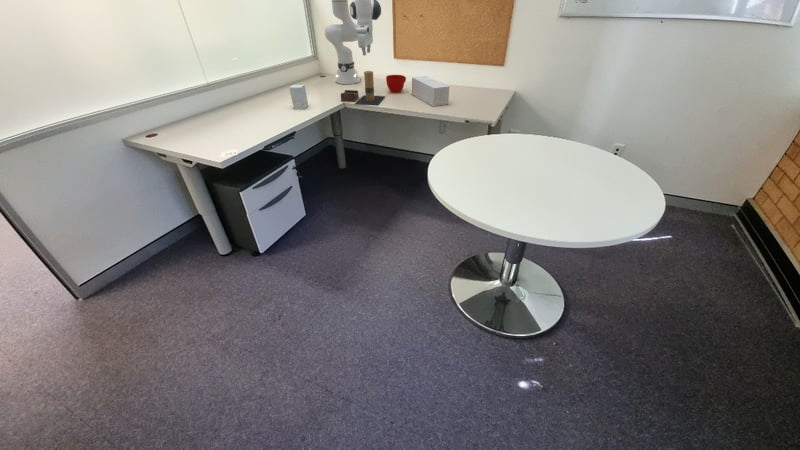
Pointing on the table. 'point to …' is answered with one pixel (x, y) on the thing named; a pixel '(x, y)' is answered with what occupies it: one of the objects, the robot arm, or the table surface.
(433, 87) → the long light grey block
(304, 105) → the white packaging box
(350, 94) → the cradle
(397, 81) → the ceramic cup
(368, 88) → the paper roll
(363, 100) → the mat
